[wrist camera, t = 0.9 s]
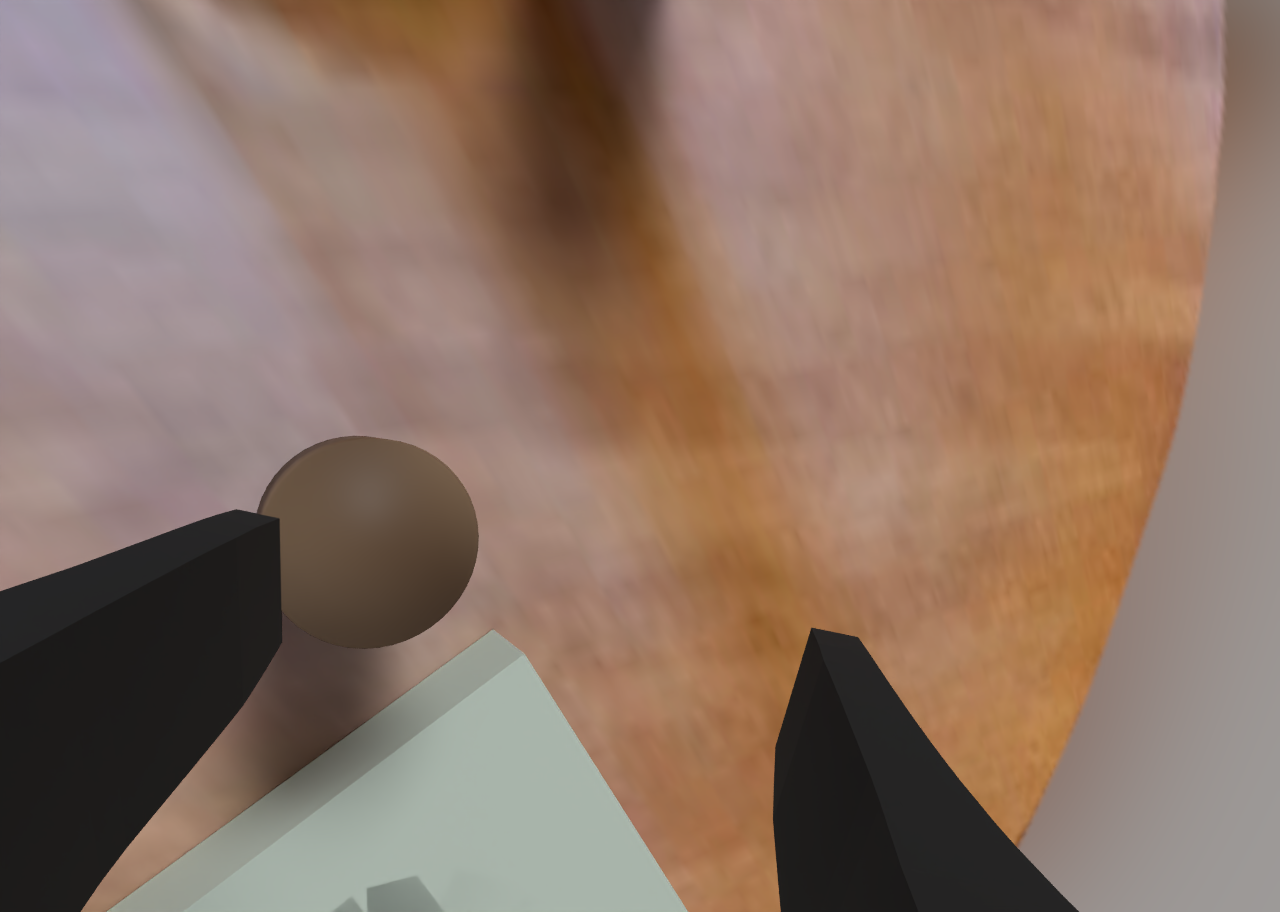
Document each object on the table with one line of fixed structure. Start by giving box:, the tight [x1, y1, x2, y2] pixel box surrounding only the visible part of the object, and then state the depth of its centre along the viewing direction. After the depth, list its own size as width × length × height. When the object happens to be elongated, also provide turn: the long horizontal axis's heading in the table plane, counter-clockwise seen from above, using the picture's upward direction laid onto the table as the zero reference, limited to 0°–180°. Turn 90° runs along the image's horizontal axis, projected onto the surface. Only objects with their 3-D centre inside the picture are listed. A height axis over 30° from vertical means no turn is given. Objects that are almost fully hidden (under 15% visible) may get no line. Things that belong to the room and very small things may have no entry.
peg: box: [257, 436, 479, 649], centre depth 20 cm, size 4×4×8 cm
